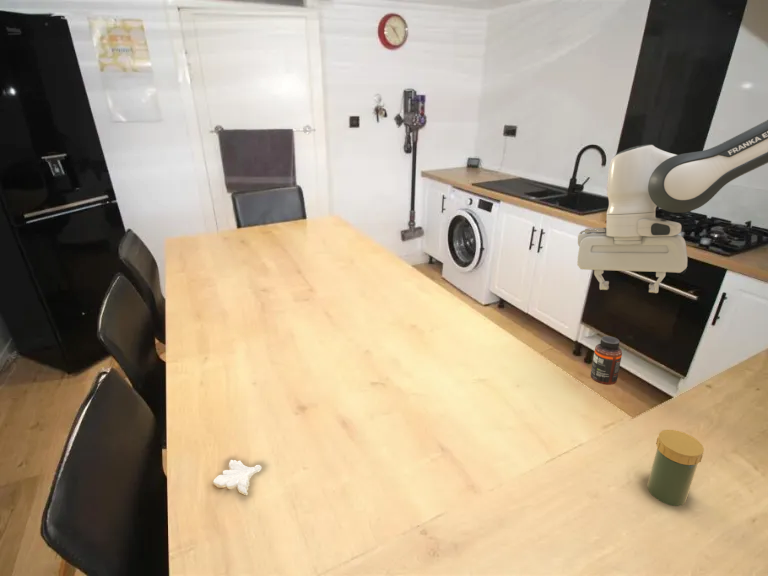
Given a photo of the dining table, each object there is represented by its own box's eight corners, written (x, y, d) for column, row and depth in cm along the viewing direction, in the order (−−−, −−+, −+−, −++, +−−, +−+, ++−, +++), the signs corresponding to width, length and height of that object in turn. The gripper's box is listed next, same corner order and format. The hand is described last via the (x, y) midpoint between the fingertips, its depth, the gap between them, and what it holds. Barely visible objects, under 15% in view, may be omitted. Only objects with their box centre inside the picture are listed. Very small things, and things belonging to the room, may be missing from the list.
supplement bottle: (615, 376, 104) (624, 336, 100) (617, 388, 99) (626, 347, 95) (589, 371, 106) (596, 332, 103) (589, 383, 101) (597, 342, 97)
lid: (703, 450, 67) (706, 441, 66) (697, 471, 63) (700, 461, 62) (660, 433, 71) (662, 424, 70) (652, 452, 67) (654, 443, 66)
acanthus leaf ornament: (247, 498, 71) (245, 490, 71) (210, 494, 72) (208, 486, 72) (265, 465, 78) (263, 457, 78) (231, 462, 79) (229, 454, 78)
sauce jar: (688, 493, 70) (703, 443, 67) (682, 513, 66) (698, 462, 63) (650, 476, 74) (663, 428, 70) (643, 494, 70) (656, 445, 66)
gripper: (573, 229, 91) (573, 290, 94) (686, 226, 77) (682, 297, 80) (582, 227, 96) (581, 285, 98) (690, 224, 82) (686, 291, 85)
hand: (627, 290), depth 89 cm, fingers open, 8 cm apart
